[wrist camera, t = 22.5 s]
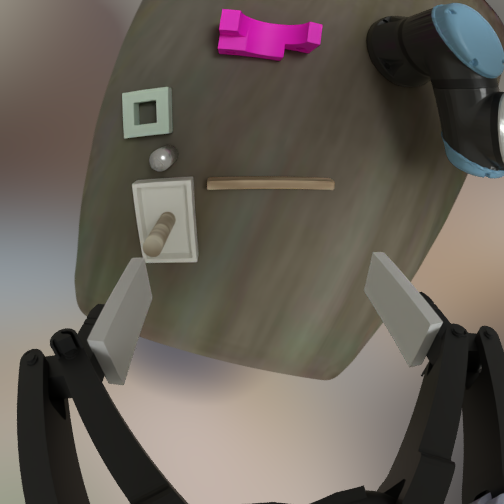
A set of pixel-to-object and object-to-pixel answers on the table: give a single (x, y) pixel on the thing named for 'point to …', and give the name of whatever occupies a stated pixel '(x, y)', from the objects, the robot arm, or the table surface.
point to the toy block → (264, 37)
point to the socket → (162, 107)
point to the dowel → (159, 235)
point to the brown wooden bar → (269, 183)
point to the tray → (168, 200)
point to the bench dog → (163, 157)
